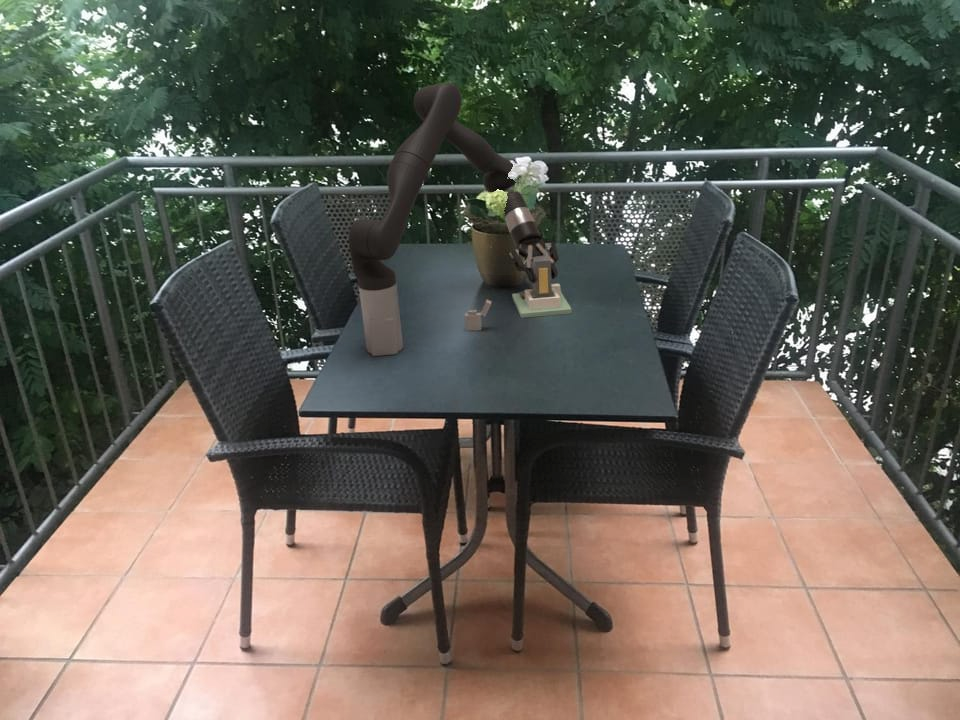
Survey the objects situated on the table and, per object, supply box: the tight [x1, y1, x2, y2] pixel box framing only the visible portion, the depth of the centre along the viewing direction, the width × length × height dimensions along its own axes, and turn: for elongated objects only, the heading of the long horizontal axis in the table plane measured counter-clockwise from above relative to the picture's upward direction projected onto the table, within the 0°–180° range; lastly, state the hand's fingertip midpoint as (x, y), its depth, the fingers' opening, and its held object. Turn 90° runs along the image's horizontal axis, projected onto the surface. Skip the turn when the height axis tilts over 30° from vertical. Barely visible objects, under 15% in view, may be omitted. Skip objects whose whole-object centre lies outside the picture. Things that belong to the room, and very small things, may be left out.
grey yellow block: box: [531, 255, 552, 297], centre depth 212 cm, size 5×4×10 cm
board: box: [511, 283, 573, 319], centre depth 217 cm, size 16×14×4 cm
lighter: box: [464, 299, 492, 332], centre depth 203 cm, size 7×2×8 cm, turn 88°
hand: (545, 279), depth 211 cm, fingers closed on grey yellow block, 5 cm apart
